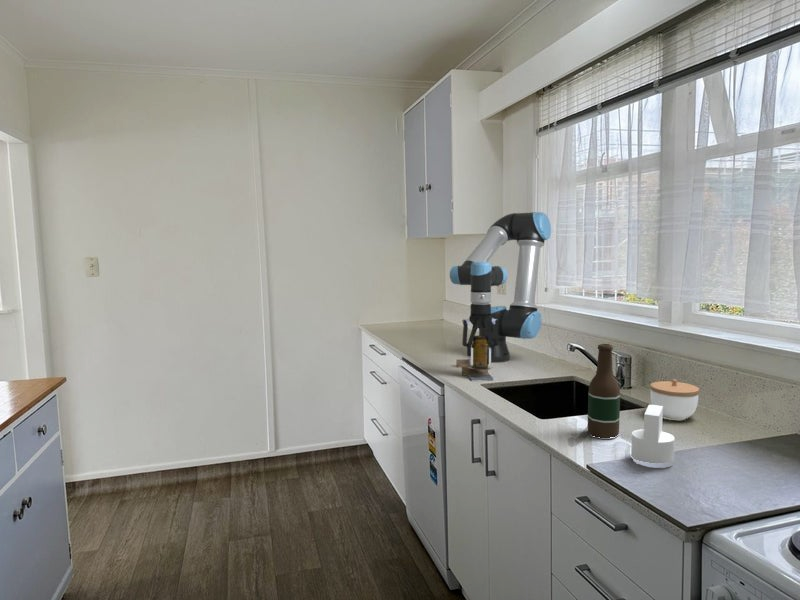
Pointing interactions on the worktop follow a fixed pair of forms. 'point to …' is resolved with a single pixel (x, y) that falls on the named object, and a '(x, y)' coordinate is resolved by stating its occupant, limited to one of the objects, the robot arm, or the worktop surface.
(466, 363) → the rack
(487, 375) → the coaster
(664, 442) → the base with upright slab
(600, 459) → the worktop surface
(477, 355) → the condiment
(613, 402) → the beer bottle
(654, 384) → the lidded bowl
